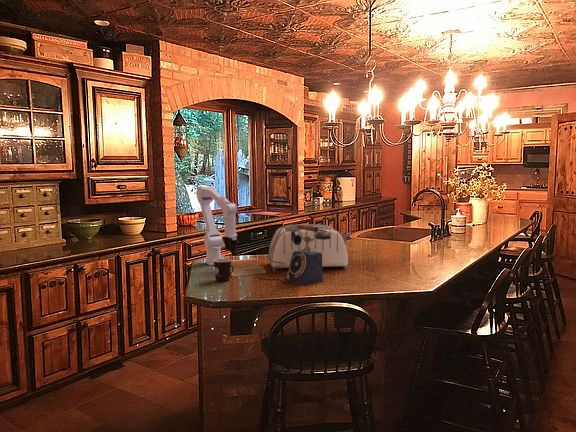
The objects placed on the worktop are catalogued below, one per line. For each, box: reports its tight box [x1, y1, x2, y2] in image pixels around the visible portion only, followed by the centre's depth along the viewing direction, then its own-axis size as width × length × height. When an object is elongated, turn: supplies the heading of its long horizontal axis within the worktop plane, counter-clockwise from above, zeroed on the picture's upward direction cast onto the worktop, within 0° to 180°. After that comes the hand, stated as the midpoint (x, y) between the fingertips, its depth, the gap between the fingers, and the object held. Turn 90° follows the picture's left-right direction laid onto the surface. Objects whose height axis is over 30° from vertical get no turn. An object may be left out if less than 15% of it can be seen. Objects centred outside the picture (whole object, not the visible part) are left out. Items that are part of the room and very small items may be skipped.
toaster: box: [268, 223, 351, 272], centre depth 261 cm, size 21×45×22 cm, turn 97°
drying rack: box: [230, 264, 267, 278], centre depth 250 cm, size 17×18×3 cm
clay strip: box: [231, 257, 258, 268], centre depth 249 cm, size 2×14×5 cm, turn 116°
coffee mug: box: [213, 257, 234, 283], centre depth 229 cm, size 12×9×10 cm
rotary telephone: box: [256, 224, 331, 286], centre depth 232 cm, size 41×22×27 cm, turn 38°
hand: (230, 251), depth 255 cm, fingers open, 7 cm apart
